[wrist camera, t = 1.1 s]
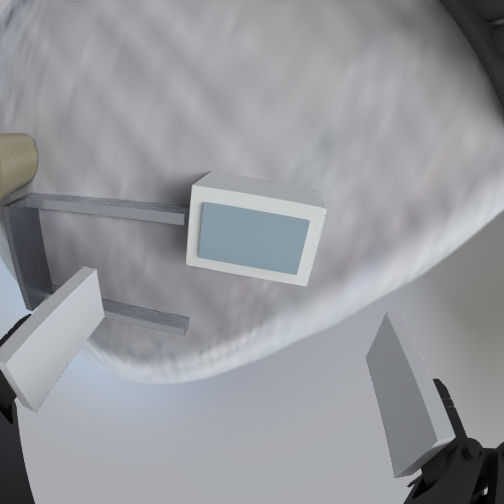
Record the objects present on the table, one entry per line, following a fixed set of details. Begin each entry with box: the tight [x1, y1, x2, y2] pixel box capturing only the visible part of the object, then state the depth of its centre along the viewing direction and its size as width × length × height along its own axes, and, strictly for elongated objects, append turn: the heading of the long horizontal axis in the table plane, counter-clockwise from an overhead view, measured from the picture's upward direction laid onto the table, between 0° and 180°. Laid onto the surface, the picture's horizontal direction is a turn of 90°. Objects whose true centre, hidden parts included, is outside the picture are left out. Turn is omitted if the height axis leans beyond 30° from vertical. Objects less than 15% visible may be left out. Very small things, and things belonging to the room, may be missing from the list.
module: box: [186, 171, 327, 286], centre depth 22 cm, size 6×9×6 cm, turn 81°
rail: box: [2, 193, 190, 336], centre depth 26 cm, size 13×21×5 cm, turn 83°
